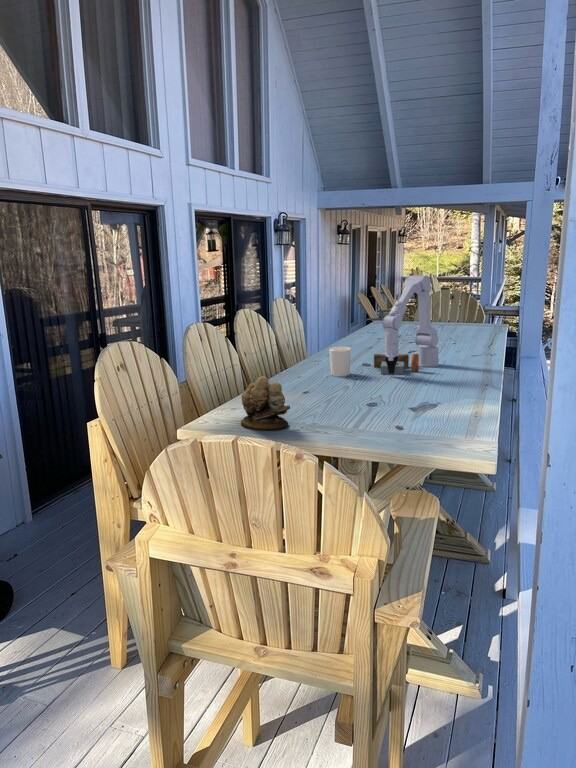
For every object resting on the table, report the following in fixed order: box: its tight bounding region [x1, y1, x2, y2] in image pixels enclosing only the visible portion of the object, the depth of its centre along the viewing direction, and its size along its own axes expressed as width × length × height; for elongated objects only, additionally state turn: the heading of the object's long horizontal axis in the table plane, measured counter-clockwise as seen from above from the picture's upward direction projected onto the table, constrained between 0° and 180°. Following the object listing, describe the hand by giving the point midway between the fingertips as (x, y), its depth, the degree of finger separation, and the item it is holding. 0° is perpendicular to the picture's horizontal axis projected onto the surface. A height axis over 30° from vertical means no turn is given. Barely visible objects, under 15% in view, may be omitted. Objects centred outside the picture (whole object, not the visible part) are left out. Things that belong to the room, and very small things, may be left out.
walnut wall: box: [373, 353, 410, 369], centre depth 259 cm, size 16×3×6 cm, turn 77°
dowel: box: [410, 353, 420, 374], centre depth 248 cm, size 3×3×8 cm
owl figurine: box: [240, 375, 291, 432], centre depth 180 cm, size 18×12×17 cm, turn 65°
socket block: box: [380, 362, 405, 375], centre depth 250 cm, size 10×10×4 cm
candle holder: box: [328, 346, 352, 377], centre depth 247 cm, size 10×10×12 cm
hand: (391, 373), depth 241 cm, fingers closed
